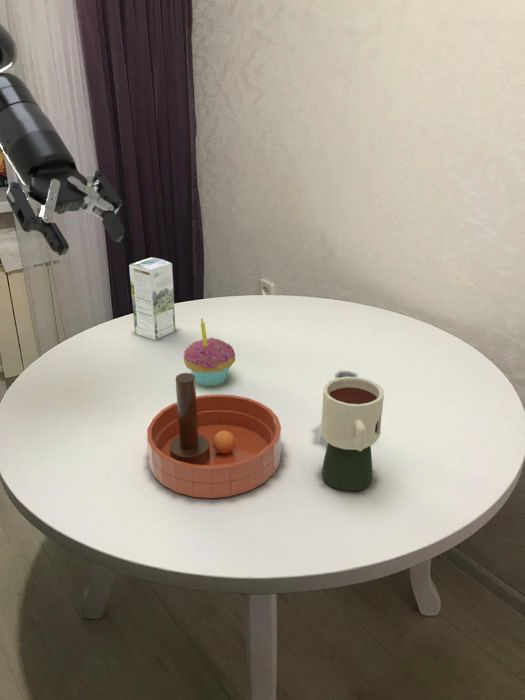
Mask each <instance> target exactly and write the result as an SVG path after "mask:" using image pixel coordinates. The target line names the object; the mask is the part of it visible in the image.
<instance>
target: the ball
mask: <svg viewBox="0 0 525 700" xmlns="http://www.w3.org/2000/svg"><path fill="white" fill-rule="evenodd" d="M213 446H214V448H215V450H216V451H217V452H219V453H222V454H225V453H229V452H230V451H232V450H233V448H234V446H235V438H234V436H233V435H232V434H231V433H230V432H228V431H220V432H218V433H217V434H216V435H215V436H214V438H213Z"/></svg>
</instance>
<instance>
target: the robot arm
mask: <svg viewBox="0 0 525 700" xmlns="http://www.w3.org/2000/svg"><path fill="white" fill-rule="evenodd" d="M17 58H18V48H17V44H16V42H15V39H14V38H13V36H12V35H11V33H10V32H9V30H8V29H7V28H6V27H5V26H4V25H3V24H2V23H0V148H1V150H2V153H3V154H4V155H5V156H6V159H7V161H8V162H9V164H10V165H11V166H12V168H13V170H14V171H15V173H16V175H17V177H18V179H19V180H20V182H21V183H22V185H21V184H19V183H18V182H16V181H12V182H10V184H9V186H8V190H7V192H6V195H5V198H6V200H7V202H8V204H9V206H10V208H11V210H12V212H13V214H14V216H15V217H16V219H17V221H18V224H19V225H20V227H21V229H22V231H24V232H25V233H31V232H32V231H36V232H38V233H40V234H41V235H42V236H43V238H44V239H45V241H46V243H47V244H48V246H49V248H50V249H51V251H52V252H54V253H56V254H57V255H58V256H65V255H67V252H68V251H69V248H70V246H69V243H68V242H67V239H66V237H65V236H64V235H63V233H62V231H61V230H60V228H59V226H58V225H57V223H56V222H53V218H54V214H55V213H57V215H61V214H65V213H67V212H78V211H81V212H82V213H84V214H86V215H93V216H94V217H96V218H98V219H100V220H101V223H102V225H103V228H105V230H106V232H107V234H108V235H109V237H110V239H111V240H112V242H113V243H114V244H116V243H120V242H121V241H122V240H123V238H124V236H125V231H126V230H125V228H124V226H123V224H122V223H121V221H120V219H119V217H118V216H117V213H118V211H119V209H120V208H121V206H122V205H123V200H122V199H121V197H120V196H119V195H118V193H117V191H116V190H115V189H114V187H113V185H112V184H111V183H110V181H109V180H108V179H107V177H106V176H105V174H104V173H103V172H102V171H101V170H96V171H95V172H94V174H93V175H89V176H84V174H82V173H81V172H80V171H79V170H78V168H77V165H76V161H75V159H74V157H73V155H72V154H71V152H70V151H69V149H68V147H67V146H66V144H65V142H64V140H63V139H62V137H61V136H60V135H59V133H58V131H57V129H56V128H55V126H54V125H53V123H52V121H51V120H50V118H49V117H48V116H47V115H46V114H45V113H44V112H43V110H42V109H41V107H40V106H39V104H38V102H37V101H36V99H35V97H34V96H33V94H32V93H31V91H30V89H29V88H28V86H27V84H26V83H25V82H24V81H23V80H22V79H21V77H19V76H17V75H16V74H14V73H10V72H5V71H7V70H9V69H10V68H12V67H13V66H14V65H15V64H16V62H17ZM29 198H30V199H31V200H32V201H34V202H36V203H38V204H39V205H41V207H40V213H39V215H36V213H35V211H34V210H33V208H32V205H31V204H30V202H29ZM86 198H88V199H89V203H87V202H86Z"/></svg>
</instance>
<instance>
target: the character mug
mask: <svg viewBox="0 0 525 700" xmlns="http://www.w3.org/2000/svg"><path fill="white" fill-rule="evenodd" d="M384 397H385V392H384V389H383V387H382V386H381V385H379V384H378V383H377V382H374V381H373V380H370V379H367V378H362V377H359V376H358V377H340V378H336V379H335V378H333V379H331V380H329V381H327V382H326V383H325V385H323V390H322V408H321V410H322V411H321V423H322V427H321V435H322V437H323V438H324V440H325V441H326V442H328V444H327V446H326V450H325V454H324V458H323V462H322V463H323V464H322V470H321V475H322V479H323V481H324V482H325V483H326V484H327V485H328V486H330V487H333V488H336V489H339V490H344V491H364V490H365V489H366V488H368V487H369V486H370V485H371V483H372V481H373V460H372V459H373V458H372V448H371V447H372V445H374V444H375V443H376V442H377V441H378V440H379V438H380V437H381V426H382V414H383V407H384Z"/></svg>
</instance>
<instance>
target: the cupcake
mask: <svg viewBox="0 0 525 700" xmlns="http://www.w3.org/2000/svg"><path fill="white" fill-rule="evenodd" d="M200 321H201V322H200V331H201V338H202V339H199V340H196V341H193V342H191V344H190V345H188V347H186V348H185V350H184V353H183V363H184V366H185V367H186V368H187V370H191V372H192V374H193V375H194V376H195V383H197V384H198V385H200V386H202V387H203V386H204V387H217V386H219V385H222V384H223V383H224V382H225V381H226V378H227V375H228V372H229V370H230V368H231V367H232V366H233V365H234V363H236V353H235V349H234V348H233V346H232V345H231V344H230V343H227V342H225V341H223V340H222V339H219V338H214V337H209V338H208V337H207V331H206V330H207V329H206V323H205V321H204V319H203V318H200Z"/></svg>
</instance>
